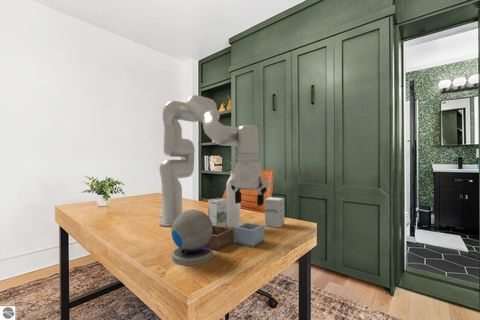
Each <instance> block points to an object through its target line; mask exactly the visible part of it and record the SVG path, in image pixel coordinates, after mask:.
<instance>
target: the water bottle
mask: <svg viewBox="0 0 480 320" xmlns="http://www.w3.org/2000/svg"><path fill="white" fill-rule="evenodd" d="M234 178H235V172H230V176H229V177H228V179H227V181H226V184H225V185H226V200H227V228H231V229H235V227H236V226H239V225H241V224H242V222H241V219H242V218H241V217H242V216H241V210H242V208H241V203H235V193H234V192H233V189H232V188H231V185H230V183H229V181H231V180H232V179H234Z"/></svg>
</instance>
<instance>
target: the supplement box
mask: <svg viewBox="0 0 480 320" xmlns="http://www.w3.org/2000/svg"><path fill="white" fill-rule="evenodd" d="M283 224H284V225H285V197H284V198H283V197H271V196H269V197H267V198H264V227H271V228H272V227H273V228H278V227H279V229H280V228H281V227H283V226H284V225H283ZM282 225H283V226H282Z"/></svg>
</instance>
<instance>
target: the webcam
mask: <svg viewBox="0 0 480 320" xmlns="http://www.w3.org/2000/svg"><path fill="white" fill-rule="evenodd" d="M170 231H171V238H172V241H173V242H174V244H175V246H176V247H177V248H176V249H174V250H173V252H172V255H171V260H172V262H174V263H175V264H176V265H182V266H194V265H200V264H203V263H206V262H208V261H210V260H211V259H212V258H213V257H214V250H212V249H208V248H205V246H206V245H207V244H208V242H209V241H210V239H211V236H212V232H213V226H212V222H211V220H210V218H209V217H208V215H207V214H206V213H205V212H203V210H202V211H201V210H199V209H188V210H185V211H182V213H181V214H180V215H179V216H178V217H177V218H176V219H175V221H174V223H173V225H172V226H171V230H170Z"/></svg>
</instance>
